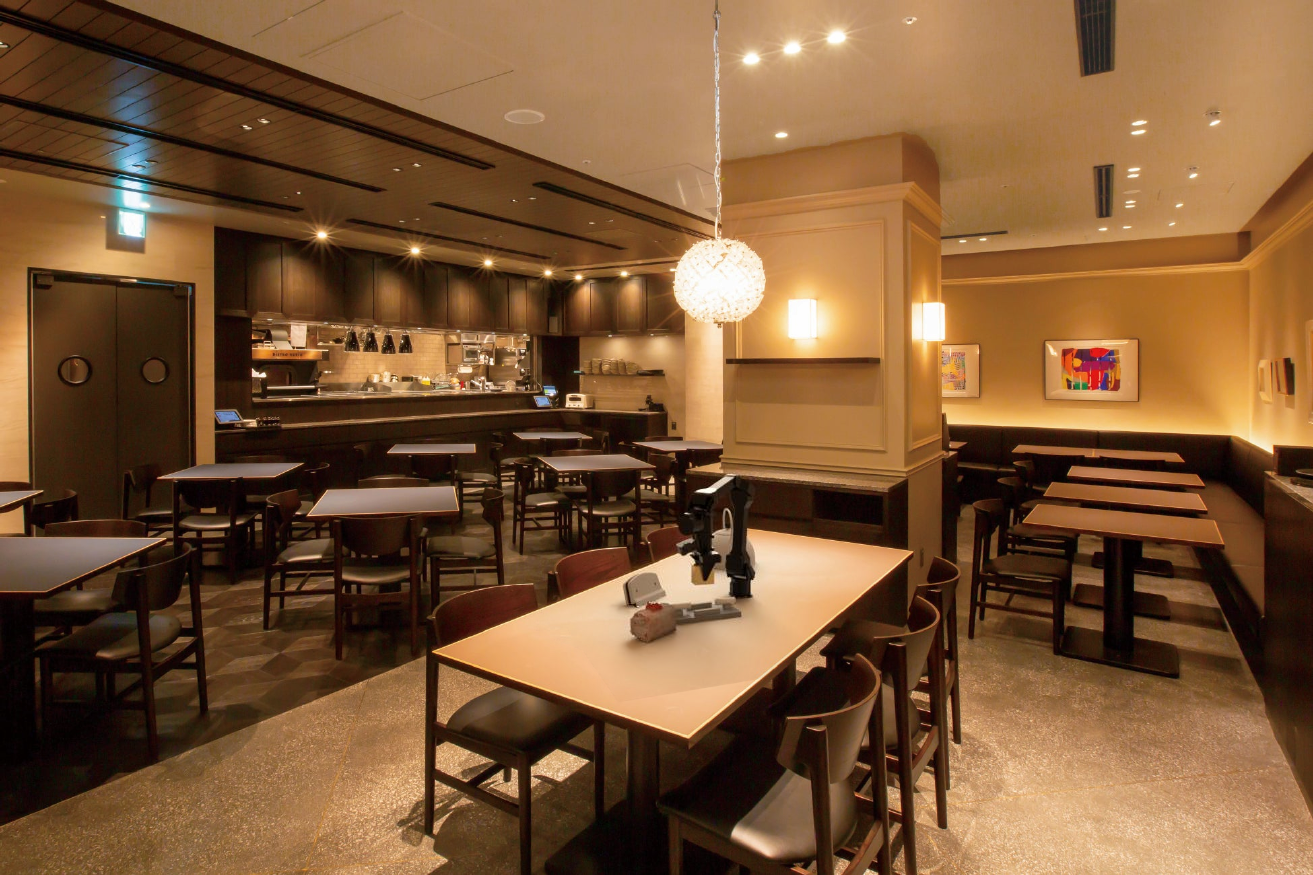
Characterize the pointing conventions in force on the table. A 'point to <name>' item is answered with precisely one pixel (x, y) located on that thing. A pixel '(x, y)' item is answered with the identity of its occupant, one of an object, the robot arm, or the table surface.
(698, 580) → the block
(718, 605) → the shaft stand
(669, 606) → the food item
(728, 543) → the kettle
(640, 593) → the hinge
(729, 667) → the table surface
